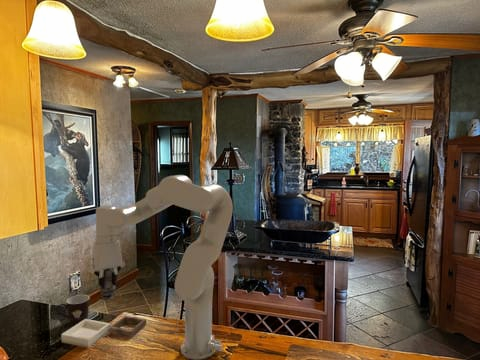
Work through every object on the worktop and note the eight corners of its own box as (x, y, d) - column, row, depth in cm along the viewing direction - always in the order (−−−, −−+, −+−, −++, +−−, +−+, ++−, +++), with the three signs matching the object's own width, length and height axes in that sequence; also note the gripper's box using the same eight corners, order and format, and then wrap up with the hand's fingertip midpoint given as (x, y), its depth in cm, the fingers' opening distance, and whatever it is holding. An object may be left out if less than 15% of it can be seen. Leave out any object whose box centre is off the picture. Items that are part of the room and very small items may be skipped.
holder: (146, 325, 133) (146, 319, 133) (131, 338, 123) (131, 331, 123) (125, 321, 135) (125, 315, 135) (109, 333, 126) (109, 327, 126)
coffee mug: (94, 318, 138) (93, 295, 137) (82, 328, 129) (81, 304, 128) (68, 316, 139) (67, 293, 138) (55, 327, 130) (54, 302, 130)
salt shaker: (118, 297, 125) (118, 266, 124) (103, 301, 121) (102, 270, 120) (112, 292, 129) (111, 263, 128) (97, 296, 125) (96, 266, 124)
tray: (110, 330, 128) (110, 323, 128) (88, 347, 117) (88, 339, 116) (85, 325, 131) (85, 318, 131) (61, 342, 120) (61, 334, 120)
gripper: (125, 233, 132) (125, 277, 133) (80, 239, 121) (81, 287, 122) (132, 237, 126) (132, 283, 127) (86, 244, 115) (87, 294, 117)
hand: (107, 284), depth 125 cm, fingers closed on salt shaker, 3 cm apart
